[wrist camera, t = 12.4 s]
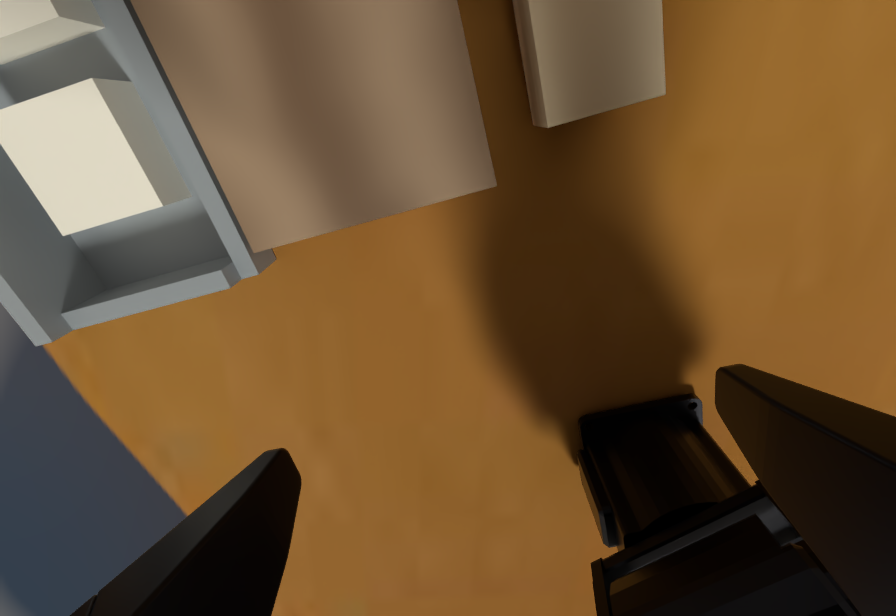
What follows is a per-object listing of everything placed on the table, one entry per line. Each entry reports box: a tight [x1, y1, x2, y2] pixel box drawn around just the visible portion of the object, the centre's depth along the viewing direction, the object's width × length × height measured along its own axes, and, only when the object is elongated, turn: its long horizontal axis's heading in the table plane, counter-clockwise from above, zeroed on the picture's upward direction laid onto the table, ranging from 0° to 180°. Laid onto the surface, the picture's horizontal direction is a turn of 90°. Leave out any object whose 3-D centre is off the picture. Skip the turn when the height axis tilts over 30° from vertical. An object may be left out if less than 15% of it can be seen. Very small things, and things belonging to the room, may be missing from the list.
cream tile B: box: [0, 78, 192, 236], centre depth 16 cm, size 4×4×2 cm
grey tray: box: [0, 0, 276, 346], centre depth 15 cm, size 9×18×4 cm, turn 15°
